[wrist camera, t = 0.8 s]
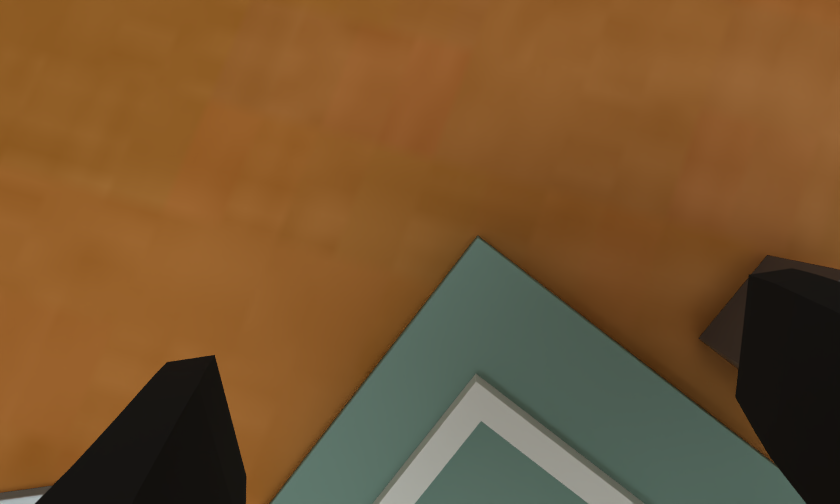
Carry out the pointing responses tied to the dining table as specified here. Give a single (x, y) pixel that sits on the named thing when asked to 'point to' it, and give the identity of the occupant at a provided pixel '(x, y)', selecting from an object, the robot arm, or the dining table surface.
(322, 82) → the dining table surface
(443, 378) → the board
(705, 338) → the dark grey block
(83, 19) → the dining table surface
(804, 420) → the robot arm
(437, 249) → the dining table surface
